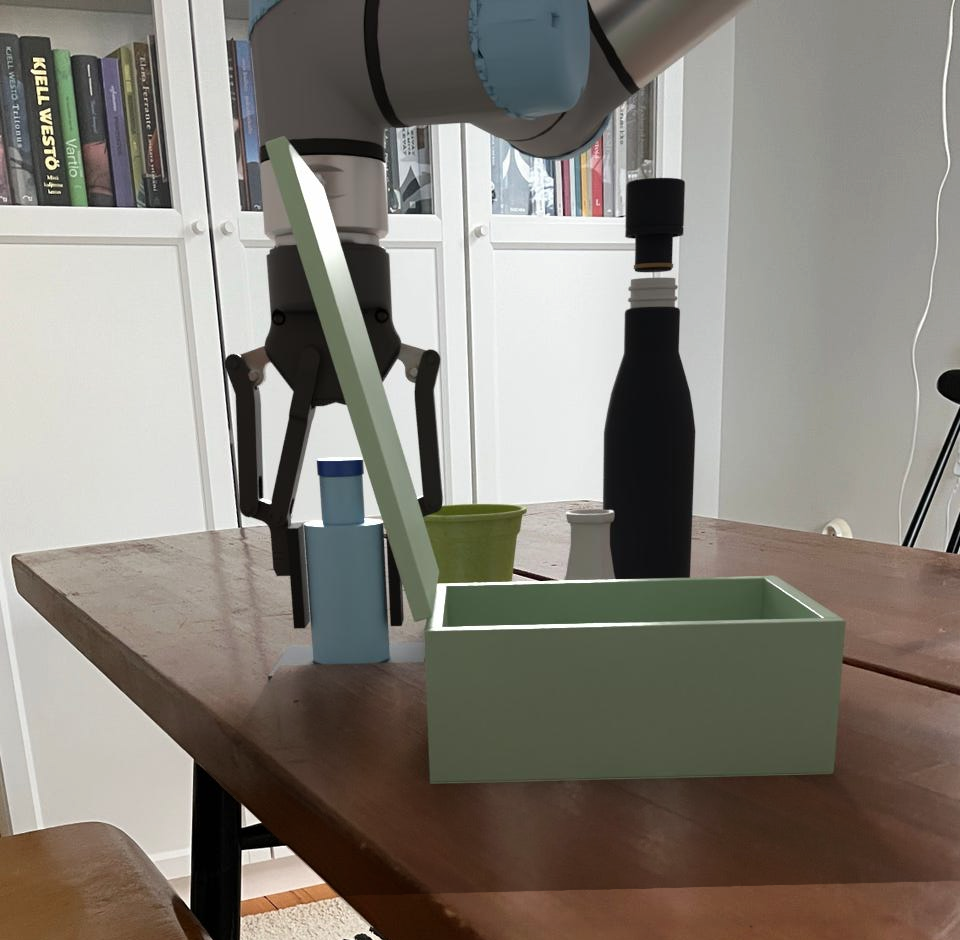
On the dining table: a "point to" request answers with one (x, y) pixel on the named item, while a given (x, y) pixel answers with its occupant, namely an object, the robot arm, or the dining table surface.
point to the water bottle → (346, 570)
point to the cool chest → (630, 680)
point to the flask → (590, 545)
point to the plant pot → (475, 541)
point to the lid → (357, 374)
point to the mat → (397, 655)
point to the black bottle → (651, 403)
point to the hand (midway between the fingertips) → (349, 623)
